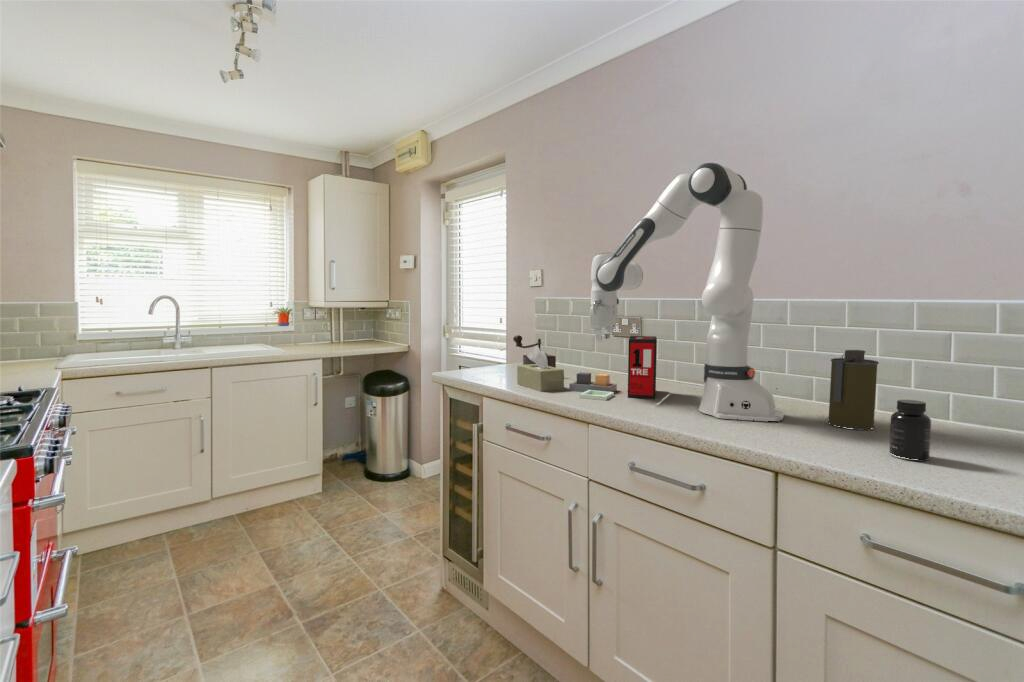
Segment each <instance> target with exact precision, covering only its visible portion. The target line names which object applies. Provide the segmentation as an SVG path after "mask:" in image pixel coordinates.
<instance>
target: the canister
mask: <svg viewBox="0 0 1024 682" xmlns="http://www.w3.org/2000/svg"><path fill="white" fill-rule="evenodd" d="M865 353H866V350H861V349H845V350H844V353H843V355H842V356H841V357H837V358H835V357H834V358H831V359H830V361H831V368H830V369H831V370H830V385H829V388H830V389H829V401H828V402H829V403H828V404H829V406H828V420H827V424H828V423H830V424H832V425H836V426H840V427H846V428H853V429H871V428H874V427H875V413H876V412H875V409H876V393H877V392H876V391H877V377H878V365H879V363H880V362H879V361H877V360H874V359H865ZM830 424H829V425H830ZM832 425H831V426H832ZM875 428H876V427H875ZM875 428H874V429H875Z"/></svg>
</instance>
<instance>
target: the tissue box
mask: <svg viewBox="0 0 1024 682" xmlns="http://www.w3.org/2000/svg"><path fill="white" fill-rule="evenodd" d="M540 350H541V348H540V349H539V347H538V346H535V348H534V349H533V350H531V351H530V352H529V353H528V354H525V355H526V356H527V357H528V358H529V359H530V360H531V361H533V362H535V363H536V364H528V365H523V364H518V365H517V366H516V367H517V368H516V369H517V370H516V373H517V376H516V377H517V380H516V382H517V383H516V385H517V384H518V385H520V386H523V387H526V388H525V389H531V390H534V391H537V392H540V393H543V392H549V391H550V392H552V391H562V390H565V370H564V369H563V368H559V367H556V368H555V367H551V366H548V362H547V356H546V354H547V353H546V352H545V350H541V351H540ZM545 353H546V354H545ZM520 386H519V387H520ZM523 387H522V388H523Z"/></svg>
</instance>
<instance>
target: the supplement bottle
mask: <svg viewBox="0 0 1024 682" xmlns="http://www.w3.org/2000/svg"><path fill="white" fill-rule="evenodd" d="M926 405H927V403H926V402H925V401H922V400H914V399H898V400H897V401H896V410H897V411H895V412H894V413H892V414H891V416H890V428H889V429H890V430H889V445H888V446H889V454H890V453H892V454H894V455H896V456H900V457H905V458H909V459H918V460H926V459H928V460H929V459H930V456H931V455H930V454H931V433H932V419H931V418H930V417H929V416H928V415H927V414H925V413H926V412H927V408H926ZM926 461H927V460H926Z"/></svg>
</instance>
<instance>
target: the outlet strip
mask: <svg viewBox="0 0 1024 682" xmlns="http://www.w3.org/2000/svg"><path fill="white" fill-rule="evenodd" d="M617 388H618V384H617V383H611V382H610V386H596V385H595V381H591V384H590V385H584V384H577V380H575V381H572V382H571V383H569V387H568V389H569V391H572V392H581V393H583V392H585V391H587V390H596V391H607V392H614V393H615V392H616V391H617V390H618V389H617Z"/></svg>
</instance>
